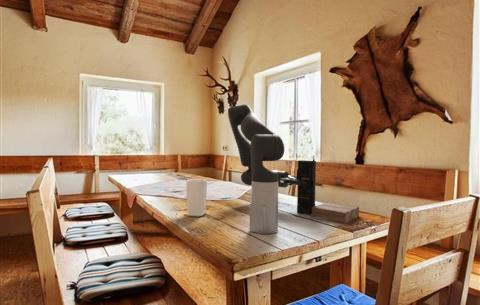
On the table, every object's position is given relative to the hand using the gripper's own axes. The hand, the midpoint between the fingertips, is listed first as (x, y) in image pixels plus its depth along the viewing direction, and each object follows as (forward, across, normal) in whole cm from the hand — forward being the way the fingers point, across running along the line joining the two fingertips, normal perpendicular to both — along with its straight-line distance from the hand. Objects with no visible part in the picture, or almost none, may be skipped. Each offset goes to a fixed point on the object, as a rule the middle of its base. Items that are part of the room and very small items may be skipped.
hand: (308, 181), depth 129 cm
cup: (-32, -36, +14) cm, 50 cm away
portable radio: (-2, 0, +14) cm, 14 cm away
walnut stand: (+11, +2, +14) cm, 18 cm away
